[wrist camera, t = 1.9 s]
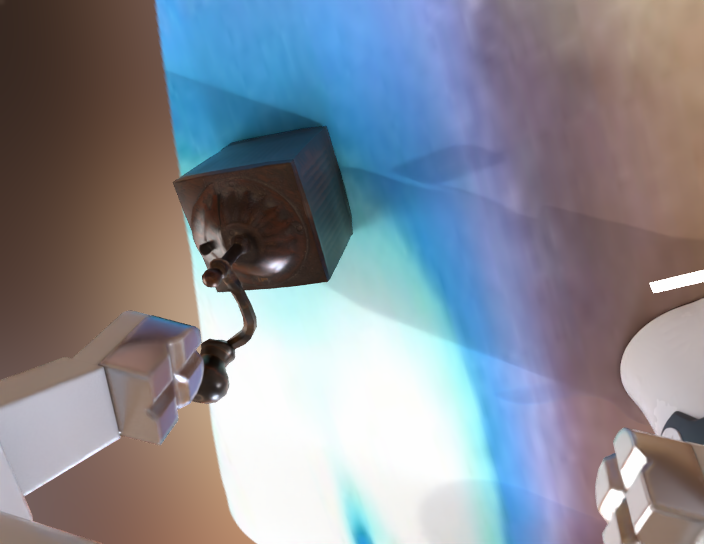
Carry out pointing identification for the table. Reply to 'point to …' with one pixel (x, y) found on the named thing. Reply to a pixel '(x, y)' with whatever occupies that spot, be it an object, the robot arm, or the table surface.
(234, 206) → the dark brown coffee grinder
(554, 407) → the table surface
